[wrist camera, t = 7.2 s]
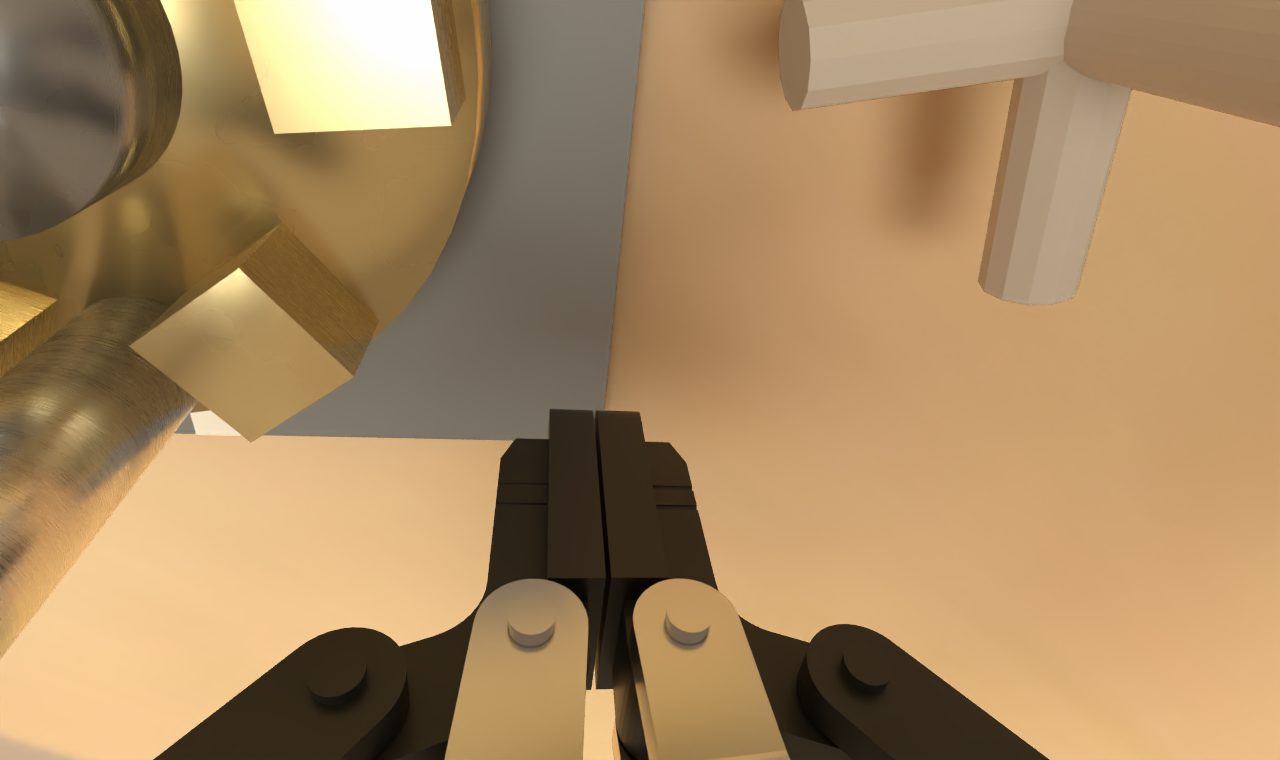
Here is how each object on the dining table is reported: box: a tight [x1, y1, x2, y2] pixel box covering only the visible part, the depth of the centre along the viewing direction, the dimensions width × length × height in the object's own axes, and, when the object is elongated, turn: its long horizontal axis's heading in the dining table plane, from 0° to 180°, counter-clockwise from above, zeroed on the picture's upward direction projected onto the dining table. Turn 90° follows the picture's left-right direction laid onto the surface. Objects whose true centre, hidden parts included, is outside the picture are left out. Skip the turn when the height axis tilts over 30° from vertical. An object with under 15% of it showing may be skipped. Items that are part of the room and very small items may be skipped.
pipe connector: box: [778, 0, 1280, 305], centre depth 11 cm, size 10×10×10 cm
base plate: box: [174, 0, 645, 440], centre depth 13 cm, size 20×20×2 cm
